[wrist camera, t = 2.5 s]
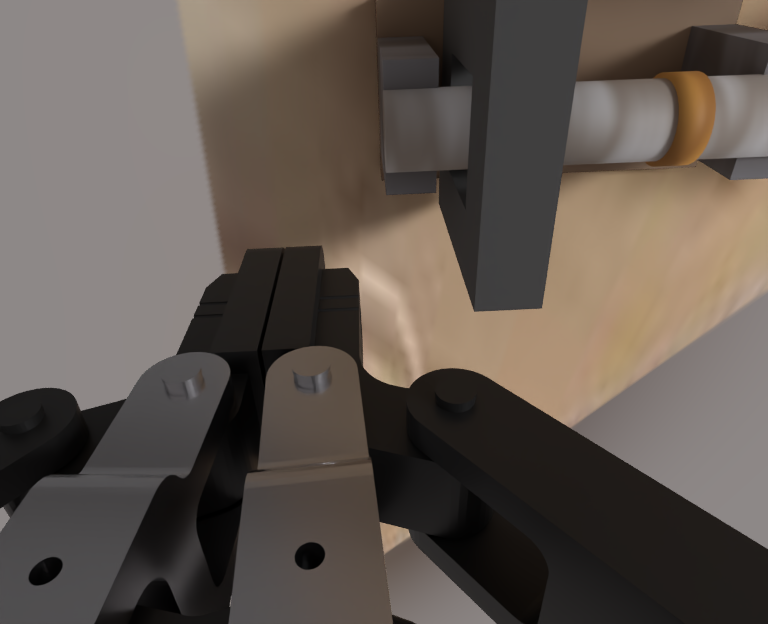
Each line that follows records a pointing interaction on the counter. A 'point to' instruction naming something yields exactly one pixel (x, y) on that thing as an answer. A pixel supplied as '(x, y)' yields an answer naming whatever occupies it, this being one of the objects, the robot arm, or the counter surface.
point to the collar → (509, 140)
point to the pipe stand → (591, 92)
